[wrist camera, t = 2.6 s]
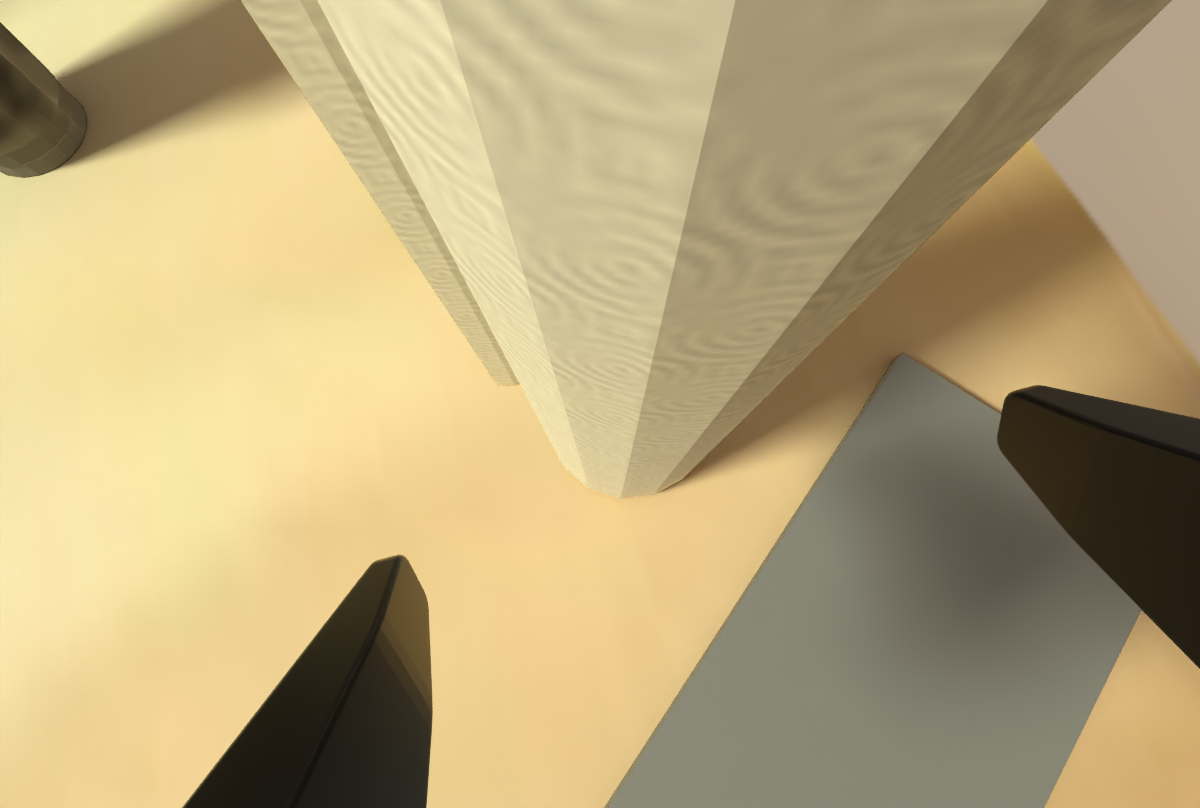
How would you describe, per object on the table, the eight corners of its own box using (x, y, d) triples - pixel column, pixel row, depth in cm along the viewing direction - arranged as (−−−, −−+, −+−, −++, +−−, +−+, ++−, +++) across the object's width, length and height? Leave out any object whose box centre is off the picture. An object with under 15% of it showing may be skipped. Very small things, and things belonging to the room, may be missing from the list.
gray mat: (818, 1234, 16) (824, 1254, 16) (510, 951, 18) (508, 962, 18) (1168, 528, 21) (1181, 528, 20) (896, 356, 23) (902, 352, 22)
